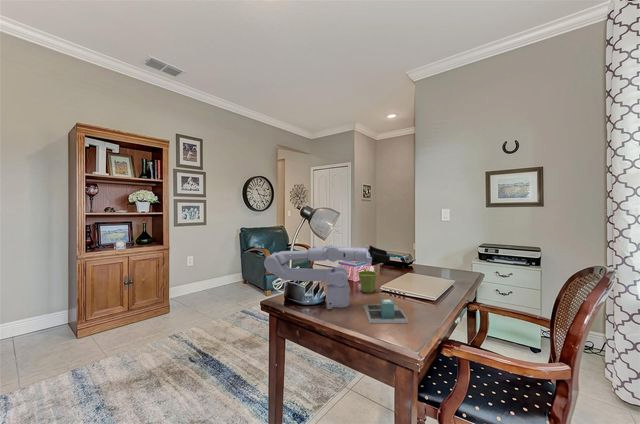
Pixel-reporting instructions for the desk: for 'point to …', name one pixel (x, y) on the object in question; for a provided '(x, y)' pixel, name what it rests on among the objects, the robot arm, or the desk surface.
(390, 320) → the case
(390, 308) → the block
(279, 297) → the desk surface
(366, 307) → the lid
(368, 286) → the plant pot
